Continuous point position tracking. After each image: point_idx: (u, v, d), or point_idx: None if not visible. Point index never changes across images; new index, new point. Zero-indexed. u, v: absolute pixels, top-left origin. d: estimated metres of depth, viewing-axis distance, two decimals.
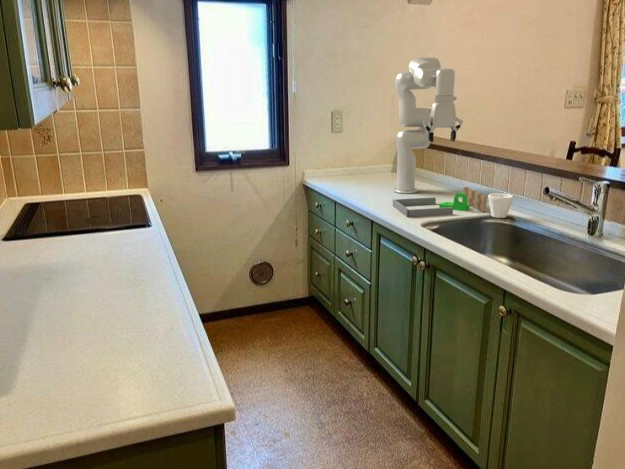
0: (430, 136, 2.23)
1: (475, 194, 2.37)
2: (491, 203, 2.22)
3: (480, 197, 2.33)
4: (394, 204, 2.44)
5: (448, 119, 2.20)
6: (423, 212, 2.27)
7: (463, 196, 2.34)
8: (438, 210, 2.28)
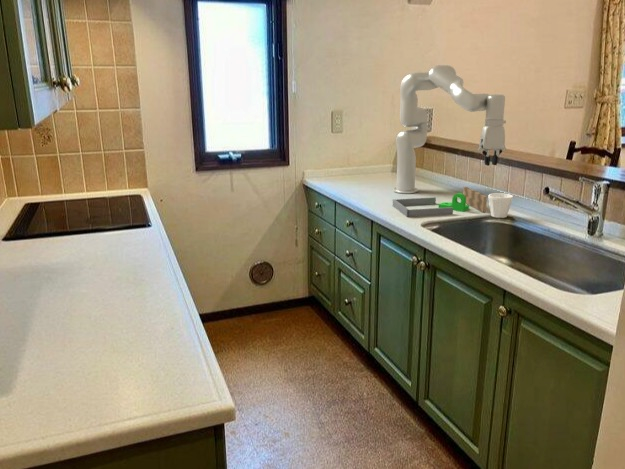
0: (486, 160, 2.35)
1: (475, 194, 2.37)
2: (491, 203, 2.22)
3: (480, 197, 2.33)
4: (394, 204, 2.44)
5: (498, 141, 2.32)
6: (423, 212, 2.27)
7: (461, 197, 2.33)
8: (438, 210, 2.28)
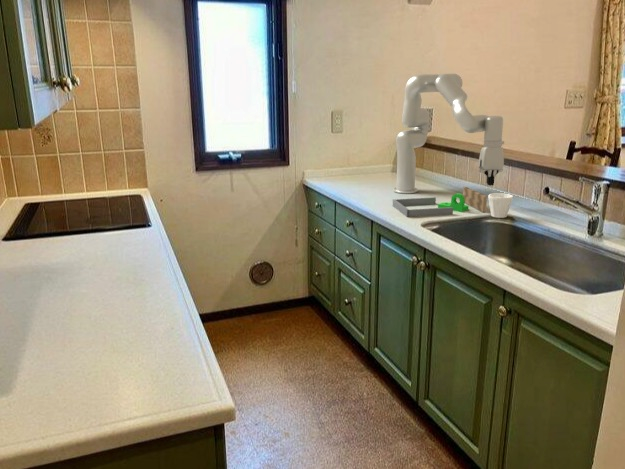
0: (488, 180, 2.38)
1: (475, 194, 2.37)
2: (491, 203, 2.22)
3: (480, 197, 2.33)
4: (394, 204, 2.44)
5: (497, 162, 2.35)
6: (423, 212, 2.27)
7: (460, 197, 2.32)
8: (438, 210, 2.28)
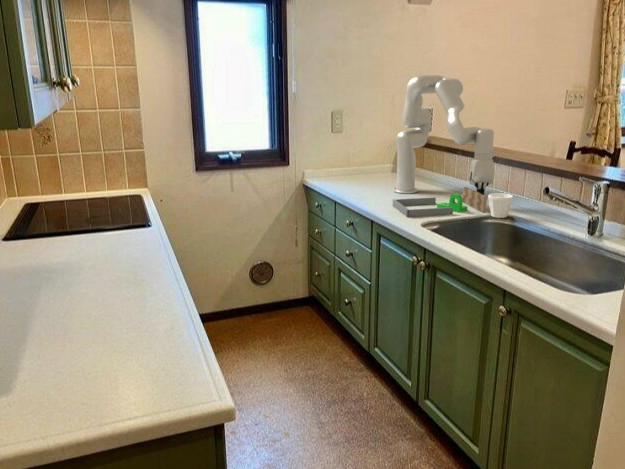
0: None
1: (475, 194, 2.37)
2: (491, 203, 2.22)
3: (480, 197, 2.33)
4: (394, 204, 2.44)
5: (487, 175, 2.36)
6: (423, 212, 2.27)
7: (457, 197, 2.31)
8: (438, 210, 2.28)
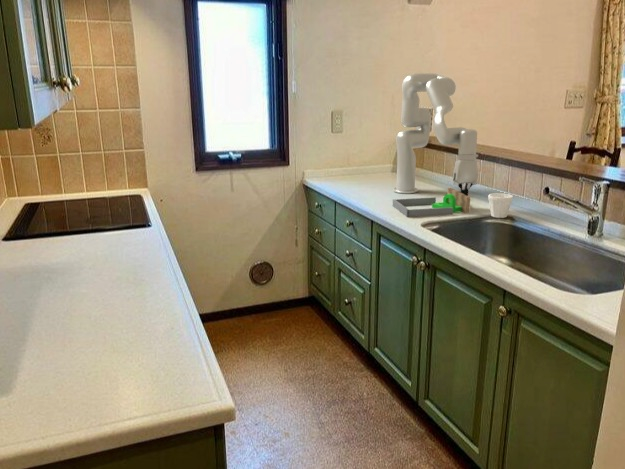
0: None
1: (459, 195, 2.36)
2: (491, 203, 2.22)
3: (463, 198, 2.32)
4: (394, 204, 2.44)
5: (470, 175, 2.35)
6: (423, 212, 2.27)
7: (450, 197, 2.31)
8: (438, 210, 2.28)
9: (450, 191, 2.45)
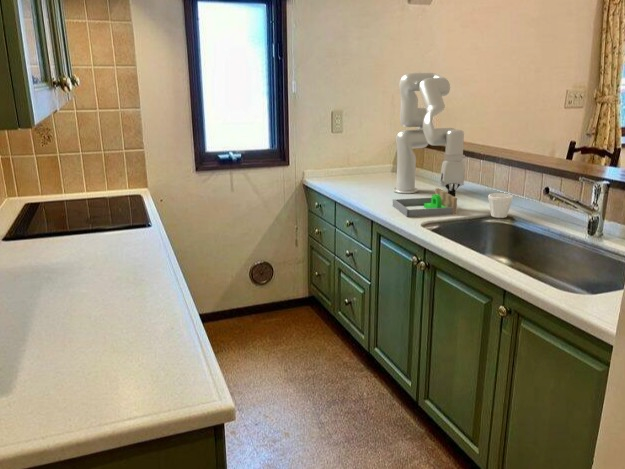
0: (450, 194, 2.37)
1: (446, 196, 2.35)
2: (491, 203, 2.22)
3: (450, 198, 2.31)
4: (394, 204, 2.44)
5: (457, 176, 2.34)
6: (423, 212, 2.27)
7: (436, 198, 2.31)
8: (438, 210, 2.28)
9: (438, 192, 2.45)
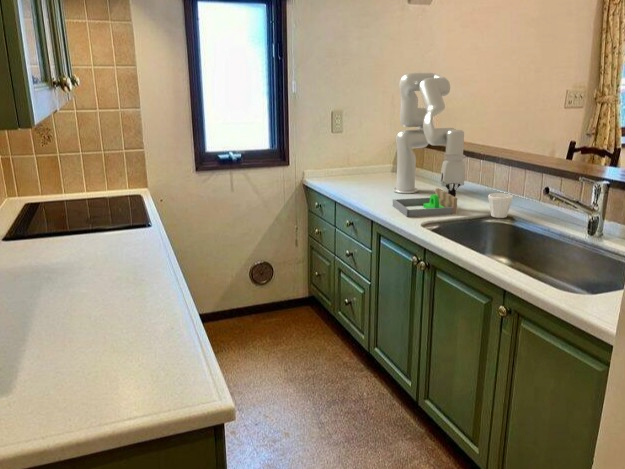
0: None
1: (446, 196, 2.35)
2: (491, 203, 2.22)
3: (451, 198, 2.31)
4: (394, 204, 2.44)
5: (458, 176, 2.34)
6: (423, 212, 2.27)
7: (434, 198, 2.31)
8: (438, 210, 2.28)
9: (438, 192, 2.45)
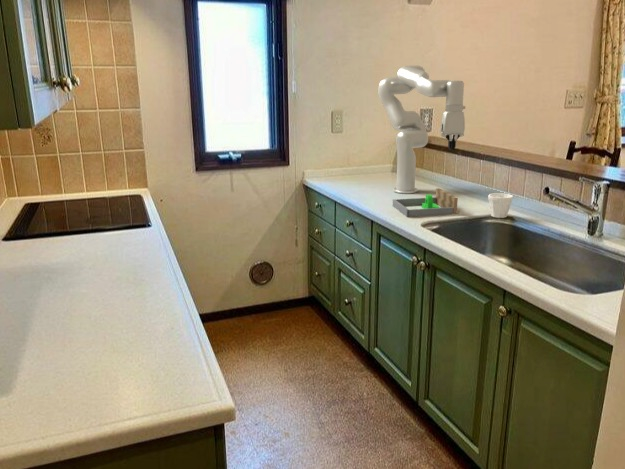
0: (450, 144, 2.43)
1: (446, 196, 2.35)
2: (491, 203, 2.22)
3: (451, 198, 2.31)
4: (394, 204, 2.44)
5: (458, 126, 2.39)
6: (423, 212, 2.27)
7: (427, 198, 2.31)
8: (438, 210, 2.28)
9: (438, 192, 2.45)
